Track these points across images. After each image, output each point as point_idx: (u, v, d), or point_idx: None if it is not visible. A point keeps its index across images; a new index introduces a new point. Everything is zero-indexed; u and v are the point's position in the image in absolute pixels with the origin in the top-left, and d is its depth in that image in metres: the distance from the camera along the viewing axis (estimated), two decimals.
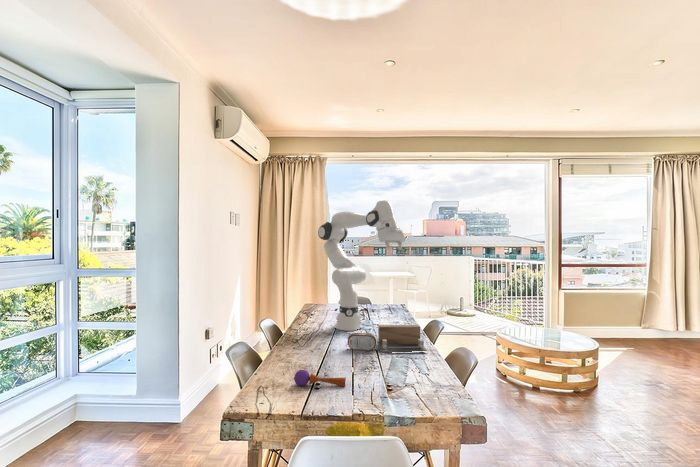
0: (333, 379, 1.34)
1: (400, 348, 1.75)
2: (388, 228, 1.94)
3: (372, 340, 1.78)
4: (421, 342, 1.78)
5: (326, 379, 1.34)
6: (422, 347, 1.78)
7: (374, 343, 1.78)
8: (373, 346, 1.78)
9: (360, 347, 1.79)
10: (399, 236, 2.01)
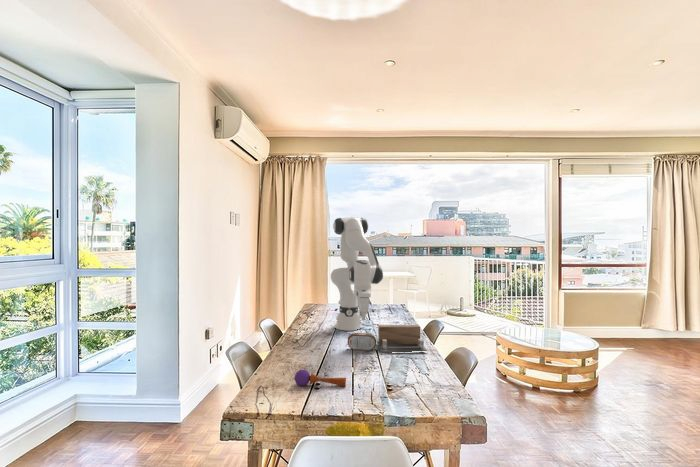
0: (333, 379, 1.34)
1: (400, 348, 1.75)
2: None
3: (372, 340, 1.78)
4: (421, 342, 1.78)
5: (326, 379, 1.34)
6: (422, 347, 1.78)
7: (374, 343, 1.78)
8: (373, 346, 1.78)
9: (360, 347, 1.79)
10: None
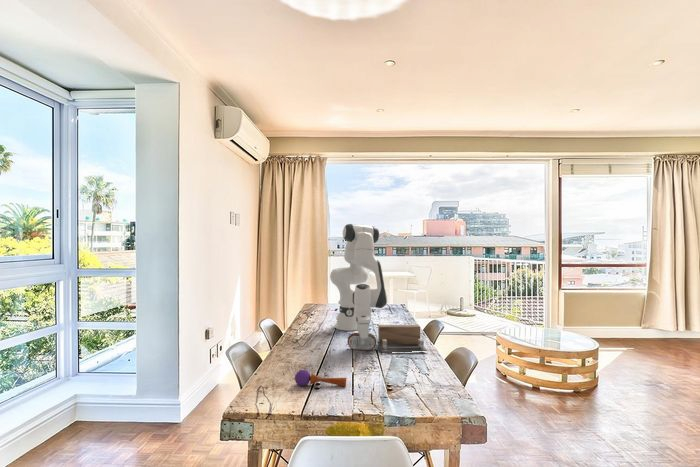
0: (334, 379, 1.34)
1: (400, 348, 1.75)
2: None
3: (372, 339, 1.78)
4: (421, 342, 1.78)
5: (327, 379, 1.34)
6: (422, 347, 1.78)
7: (374, 343, 1.78)
8: (373, 346, 1.78)
9: (360, 347, 1.78)
10: None
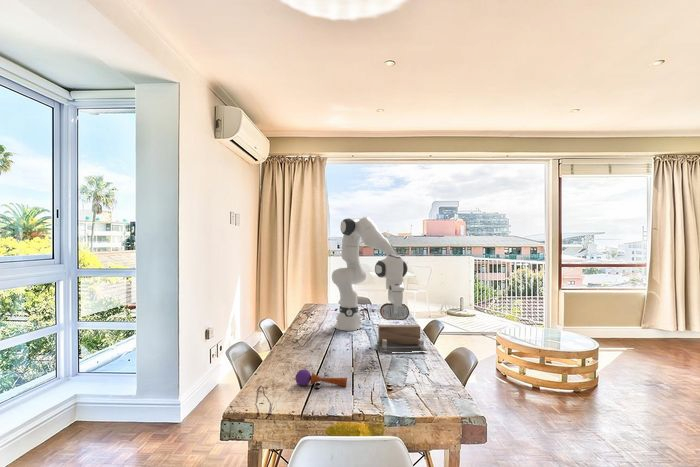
0: (334, 379, 1.34)
1: (400, 348, 1.75)
2: None
3: (405, 309, 1.78)
4: (421, 342, 1.78)
5: (327, 379, 1.34)
6: (422, 347, 1.78)
7: (407, 312, 1.78)
8: (406, 315, 1.77)
9: (393, 317, 1.78)
10: None
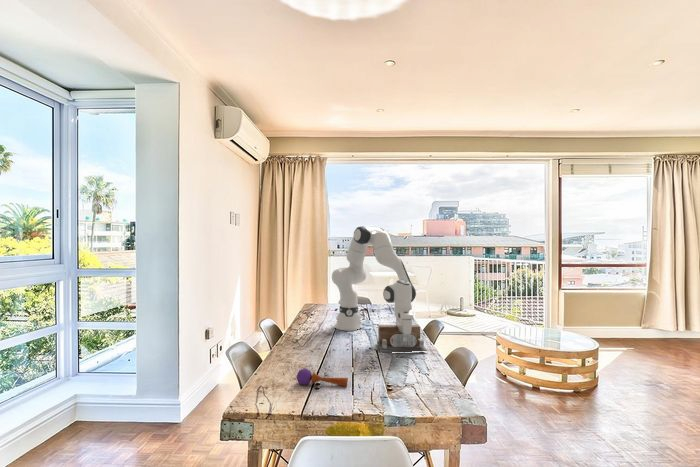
0: (335, 379, 1.34)
1: (400, 348, 1.75)
2: None
3: (413, 338, 1.77)
4: (421, 342, 1.78)
5: (328, 379, 1.35)
6: (422, 347, 1.78)
7: (416, 341, 1.77)
8: (415, 344, 1.77)
9: (402, 345, 1.77)
10: None
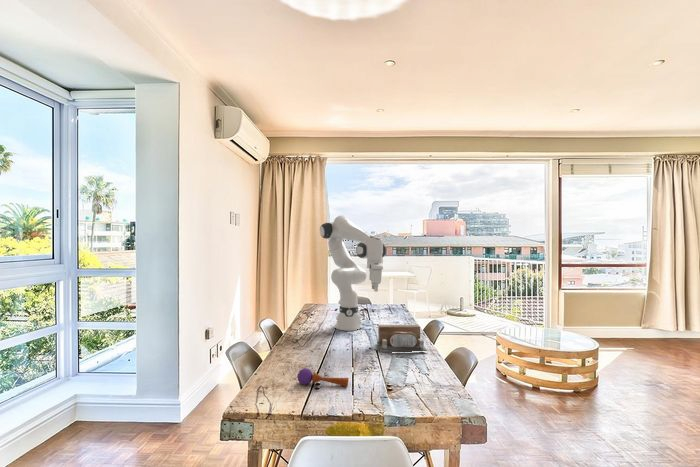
0: (335, 379, 1.34)
1: (400, 348, 1.75)
2: None
3: (413, 338, 1.77)
4: (421, 342, 1.78)
5: (329, 379, 1.35)
6: (422, 347, 1.78)
7: (416, 341, 1.77)
8: (415, 344, 1.77)
9: (402, 345, 1.77)
10: None
